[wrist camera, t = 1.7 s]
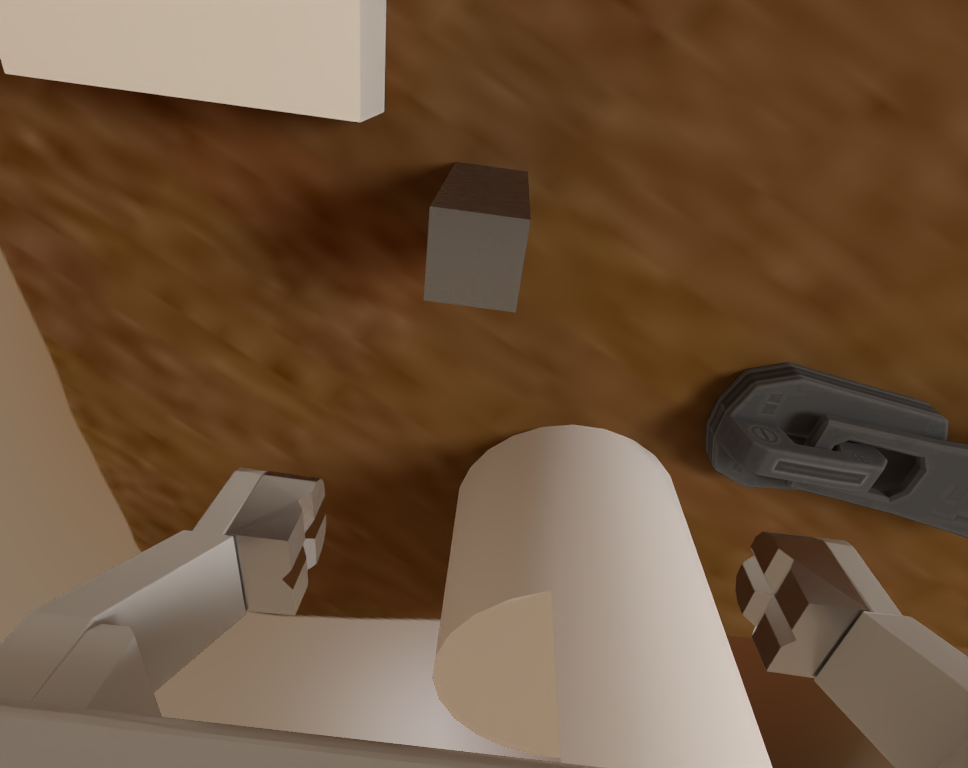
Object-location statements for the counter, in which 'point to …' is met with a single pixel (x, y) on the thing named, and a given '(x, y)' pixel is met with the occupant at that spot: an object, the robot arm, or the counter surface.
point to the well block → (209, 50)
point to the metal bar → (478, 237)
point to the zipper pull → (840, 444)
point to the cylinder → (587, 612)
